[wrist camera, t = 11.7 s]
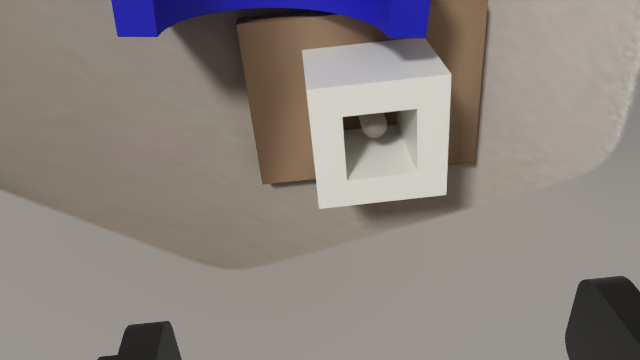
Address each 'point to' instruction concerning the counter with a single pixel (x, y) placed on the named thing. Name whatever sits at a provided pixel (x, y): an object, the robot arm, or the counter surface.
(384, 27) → the blue curved saddle bracket
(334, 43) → the pin base
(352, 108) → the white hollow square block
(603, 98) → the counter surface
